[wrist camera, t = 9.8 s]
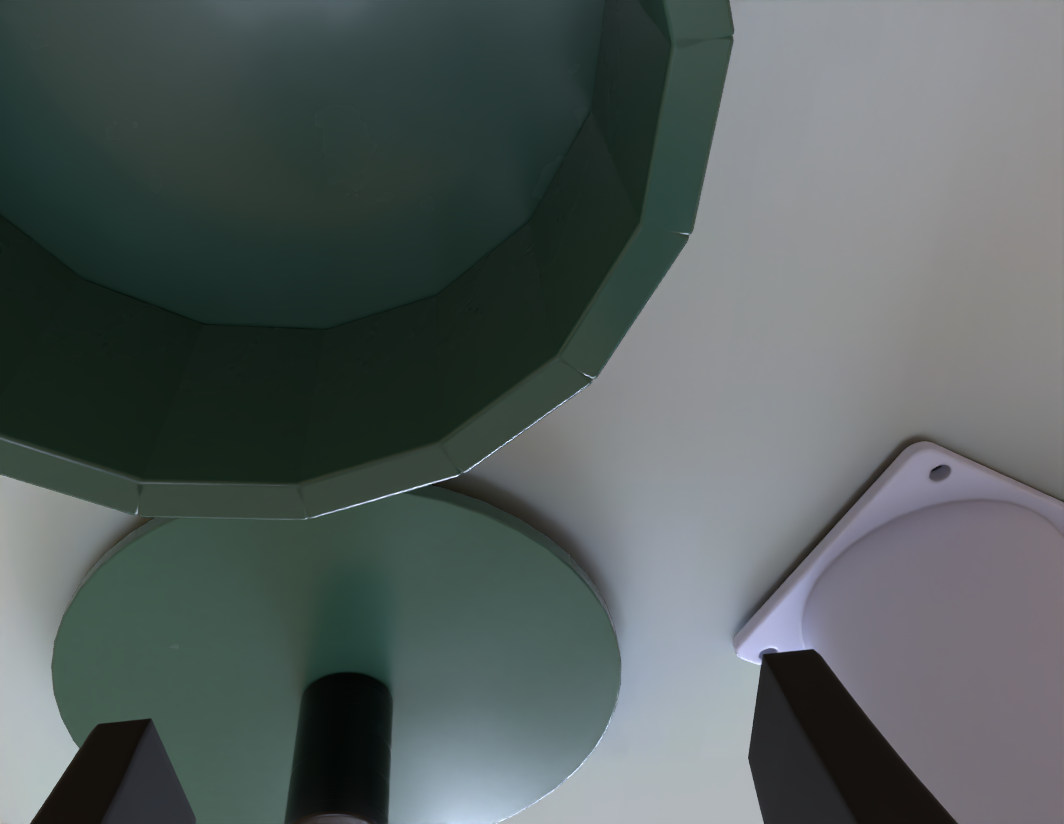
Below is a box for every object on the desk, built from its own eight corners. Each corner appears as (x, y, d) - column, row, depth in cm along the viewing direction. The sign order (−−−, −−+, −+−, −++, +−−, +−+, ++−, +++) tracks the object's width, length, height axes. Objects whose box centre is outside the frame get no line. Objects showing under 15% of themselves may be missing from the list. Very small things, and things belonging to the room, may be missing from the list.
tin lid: (711, 545, 24) (768, 709, 20) (495, 851, 32) (505, 1018, 28) (121, 379, 20) (41, 545, 16) (28, 777, 27) (-44, 962, 23)
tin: (804, -190, 15) (959, -162, 11) (441, 432, 22) (443, 611, 17) (-139, -863, 11) (-550, -1300, 6) (-246, 177, 17) (-486, 329, 13)
